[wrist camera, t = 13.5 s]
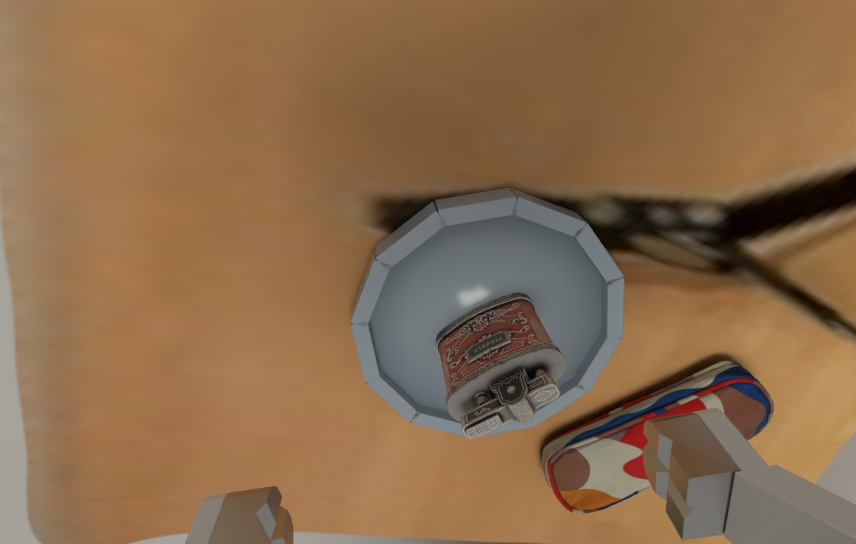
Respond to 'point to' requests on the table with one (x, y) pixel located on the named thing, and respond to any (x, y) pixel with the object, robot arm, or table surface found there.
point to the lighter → (498, 364)
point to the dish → (483, 296)
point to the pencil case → (624, 440)
